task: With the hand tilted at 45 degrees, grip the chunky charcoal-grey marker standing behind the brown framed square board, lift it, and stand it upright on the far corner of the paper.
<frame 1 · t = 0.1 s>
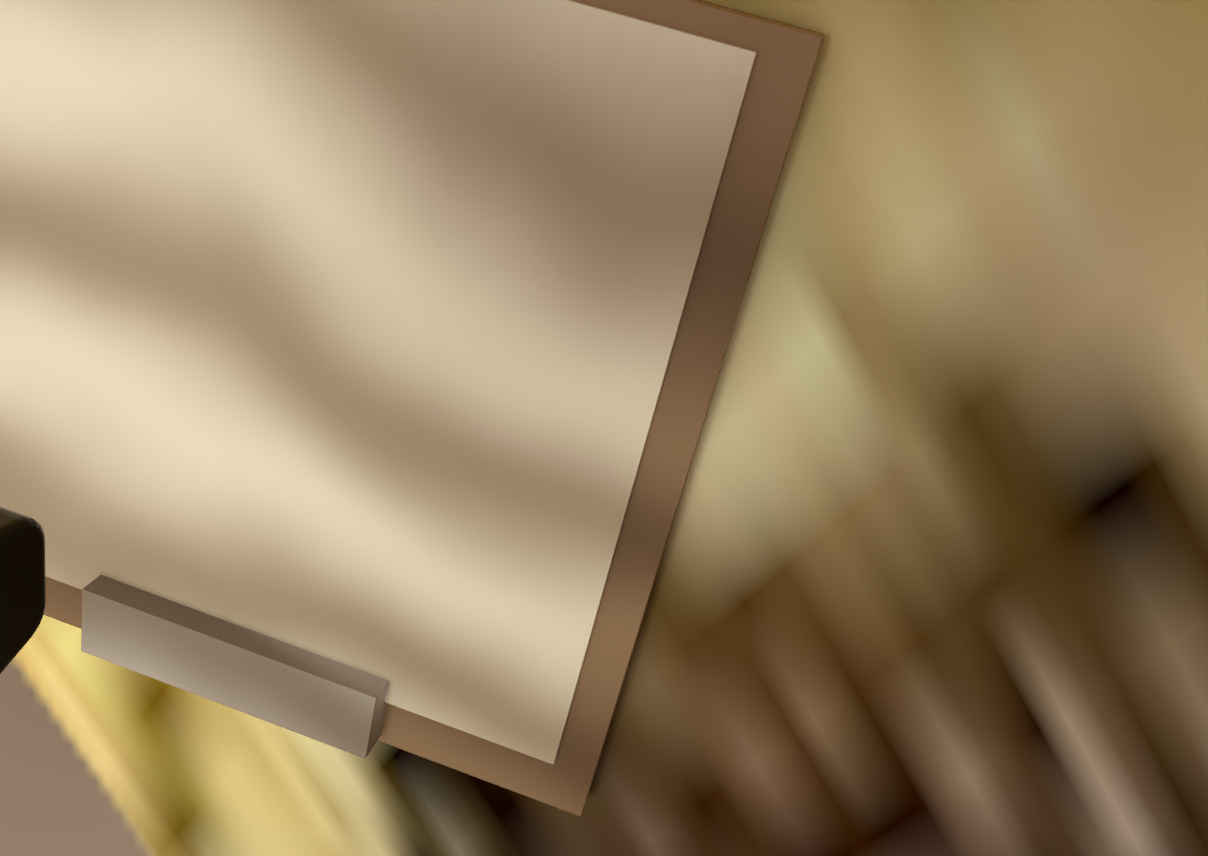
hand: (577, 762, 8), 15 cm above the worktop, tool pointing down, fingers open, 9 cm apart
brown framed square board: (289, 352, 24), on the worktop
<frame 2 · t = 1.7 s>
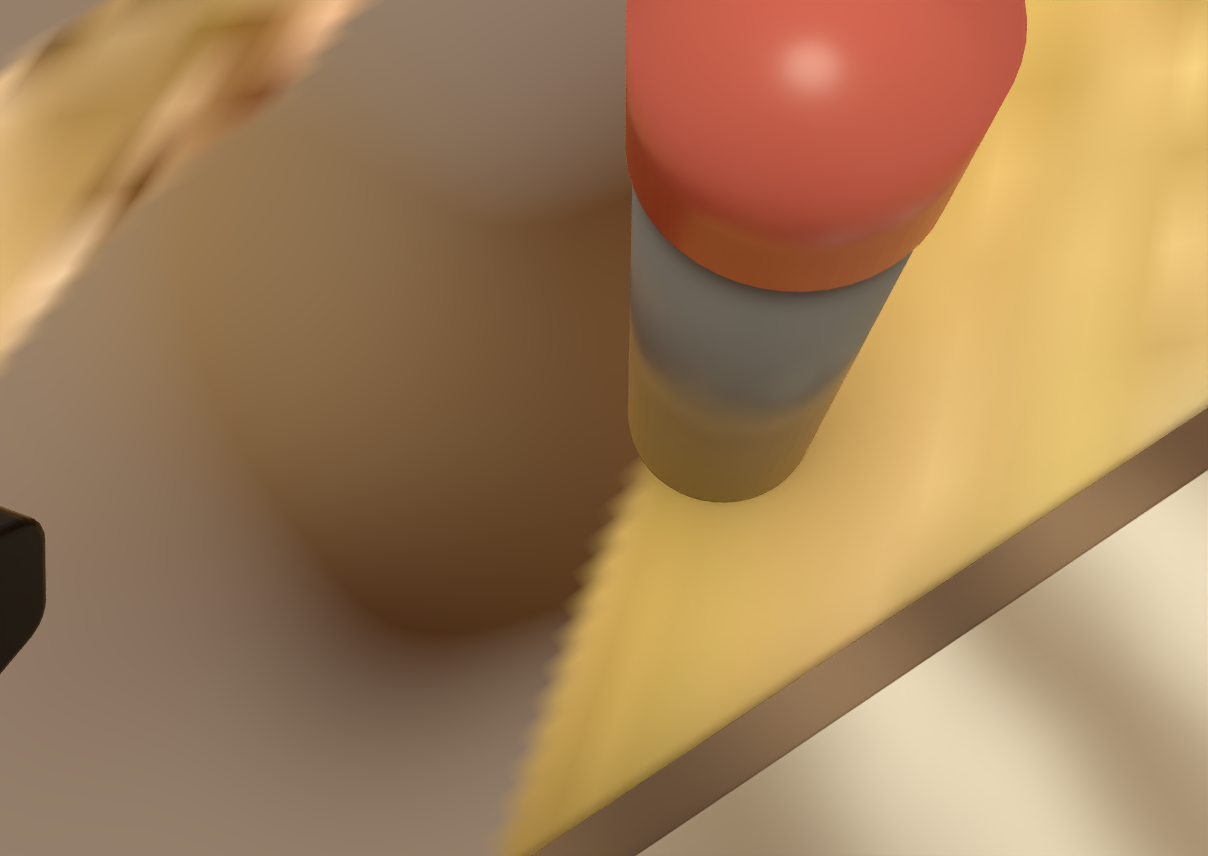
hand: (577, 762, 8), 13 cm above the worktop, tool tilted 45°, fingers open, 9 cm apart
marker: (720, 412, 23), on the worktop
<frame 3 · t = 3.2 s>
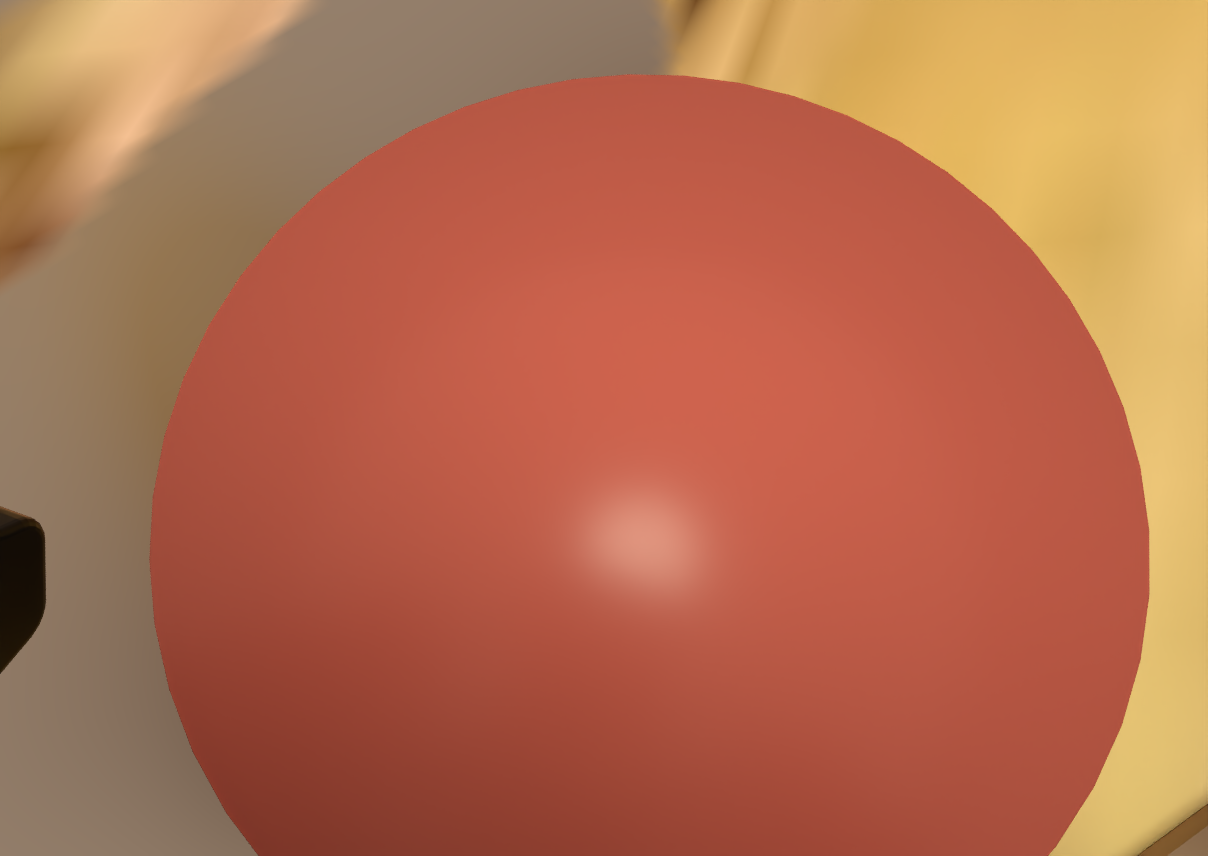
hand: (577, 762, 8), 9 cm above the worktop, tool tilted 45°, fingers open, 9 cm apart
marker: (626, 722, 16), on the worktop
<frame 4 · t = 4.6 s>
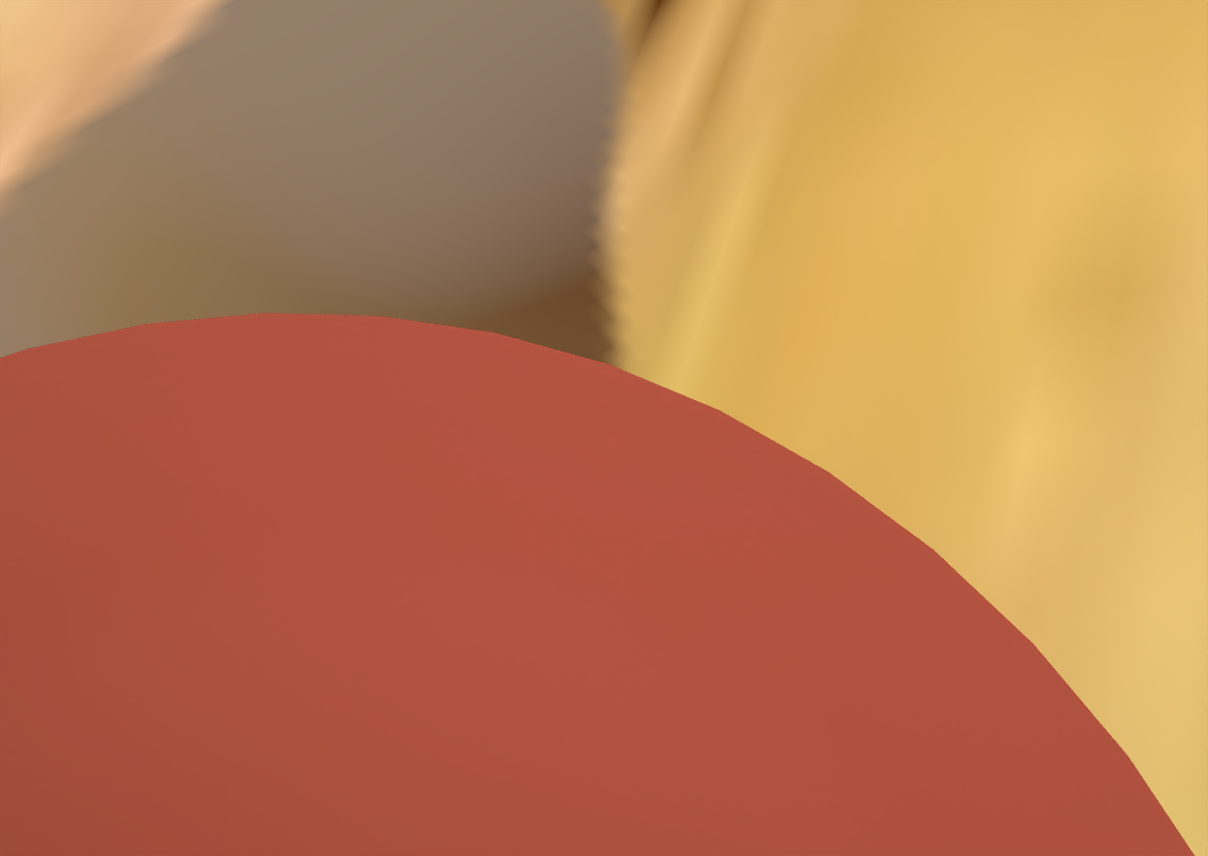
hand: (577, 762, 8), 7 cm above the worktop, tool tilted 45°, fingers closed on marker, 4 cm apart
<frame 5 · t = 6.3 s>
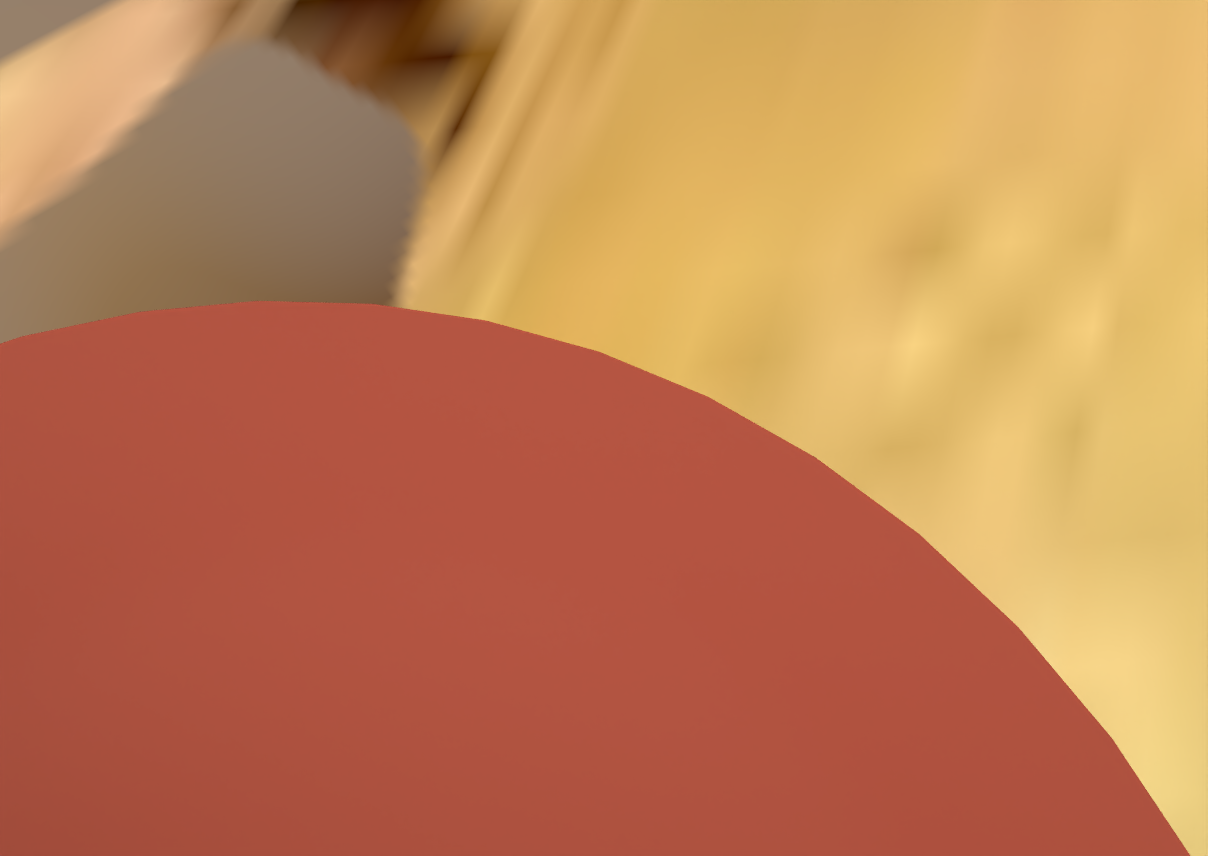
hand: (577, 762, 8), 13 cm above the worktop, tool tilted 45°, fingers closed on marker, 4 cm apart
when the fingers open (9 cm above the worktop, at t = 8.0 s): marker drops 1 cm, resting on brown framed square board.
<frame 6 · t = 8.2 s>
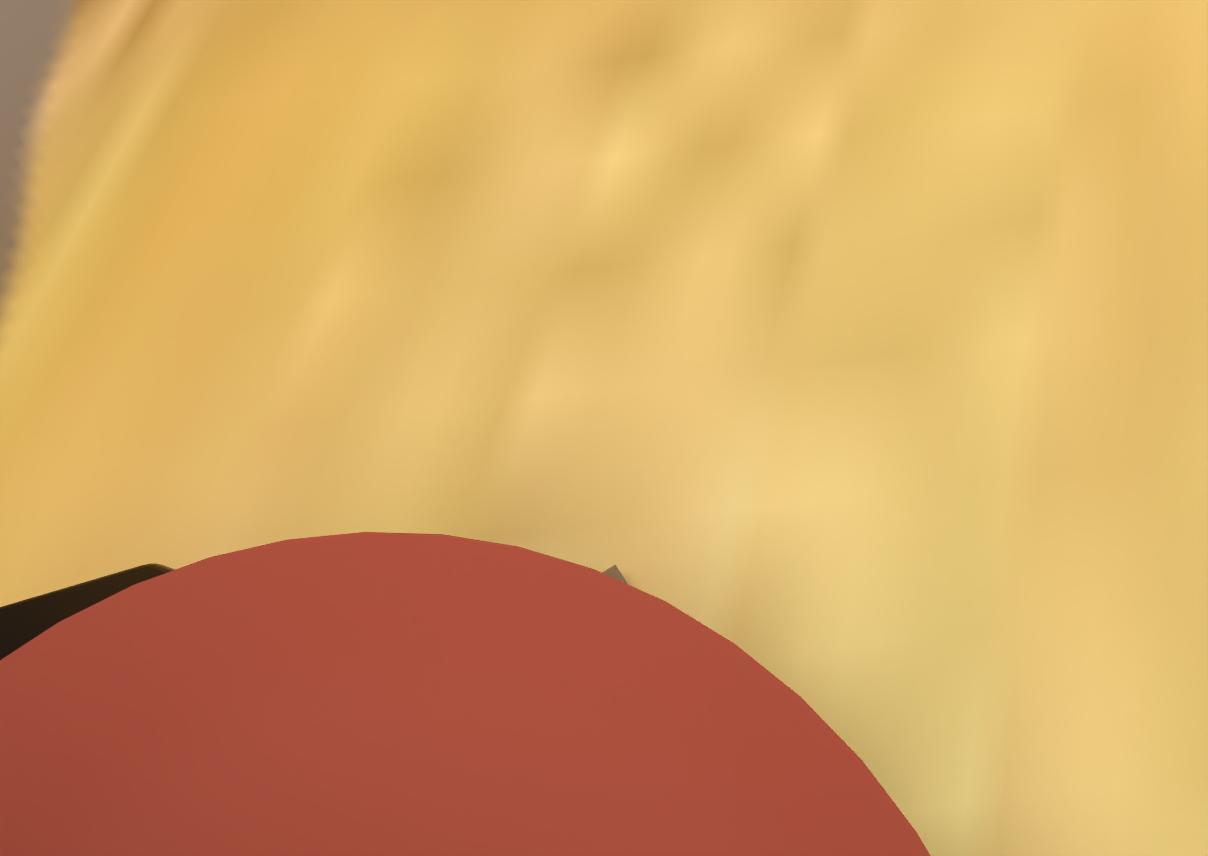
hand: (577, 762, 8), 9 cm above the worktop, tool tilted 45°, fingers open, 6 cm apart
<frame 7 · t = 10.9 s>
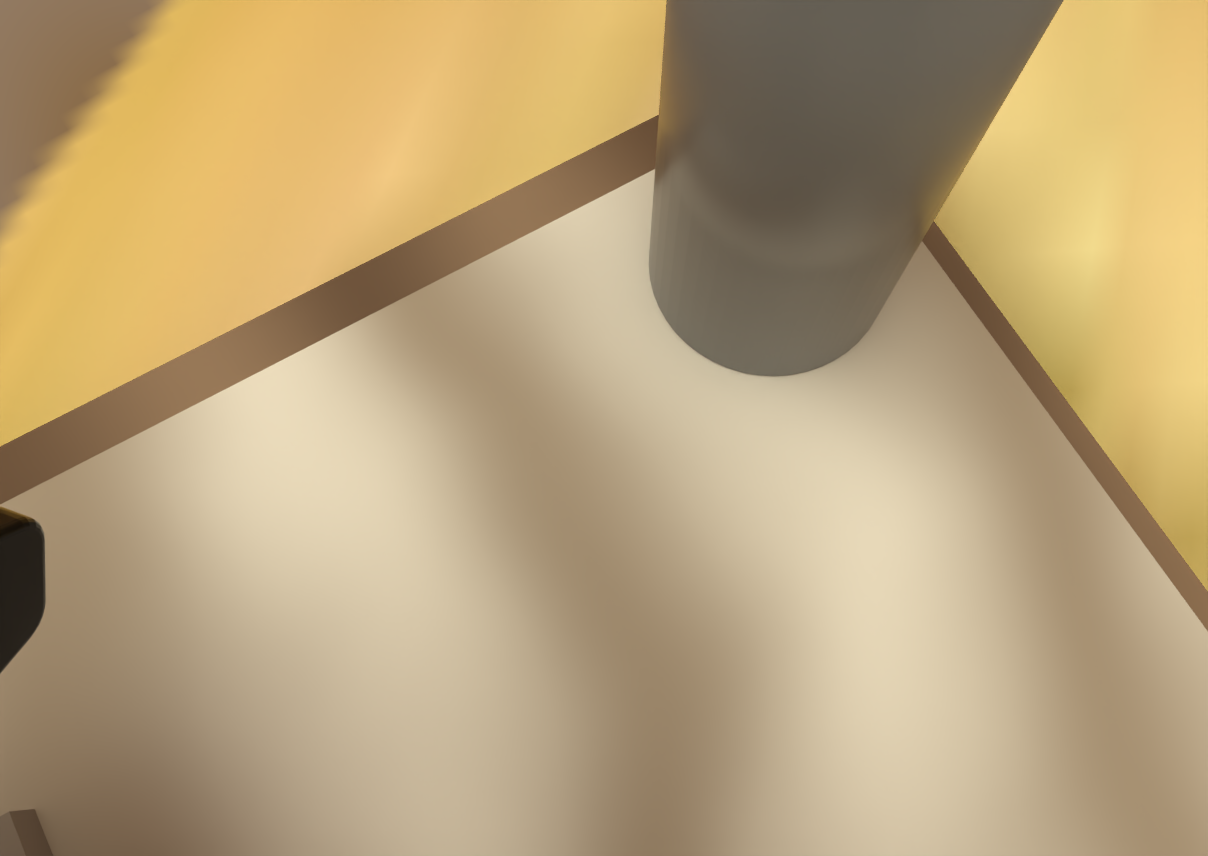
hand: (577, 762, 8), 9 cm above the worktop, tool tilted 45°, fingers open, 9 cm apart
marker: (767, 264, 18), point 1 cm above the worktop, touching brown framed square board
brown framed square board: (611, 793, 16), on the worktop
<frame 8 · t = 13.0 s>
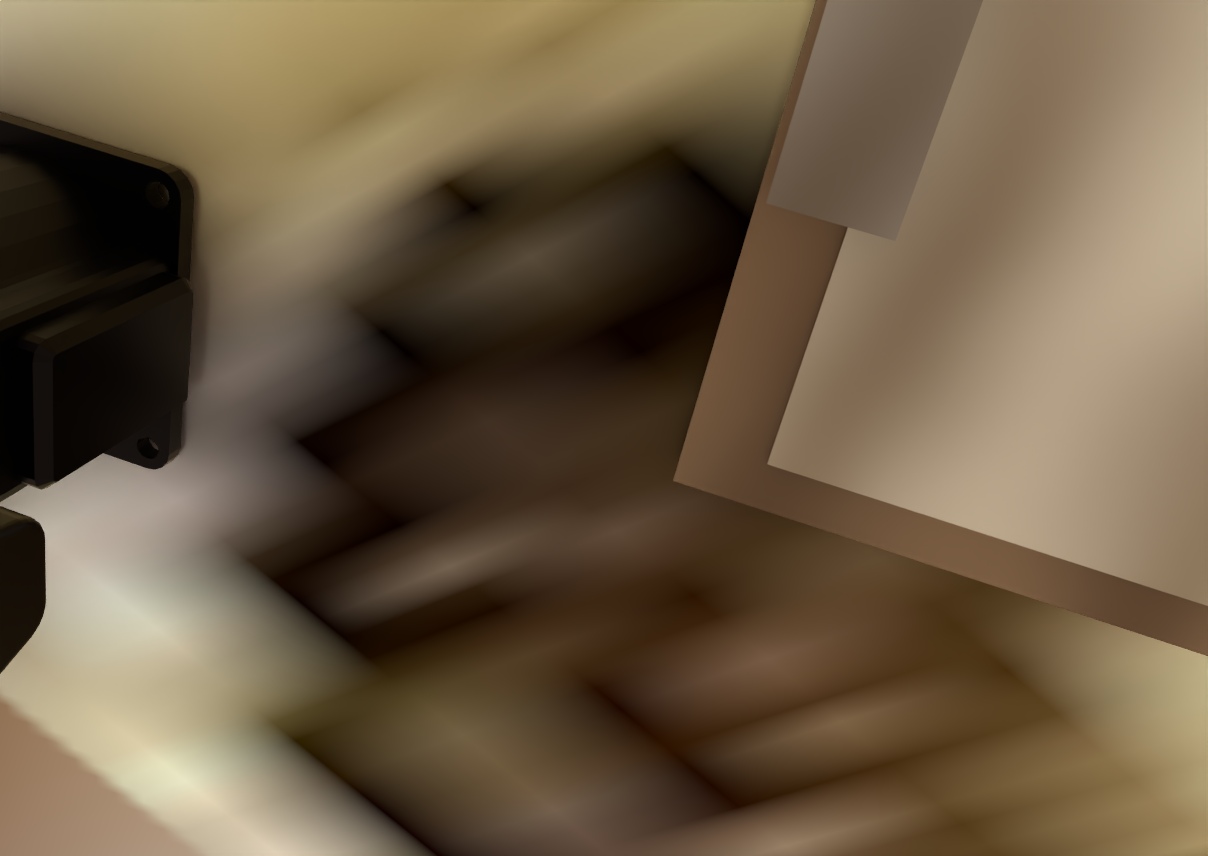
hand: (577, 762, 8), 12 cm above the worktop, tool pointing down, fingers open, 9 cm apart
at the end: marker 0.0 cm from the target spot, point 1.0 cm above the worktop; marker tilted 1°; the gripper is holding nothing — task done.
